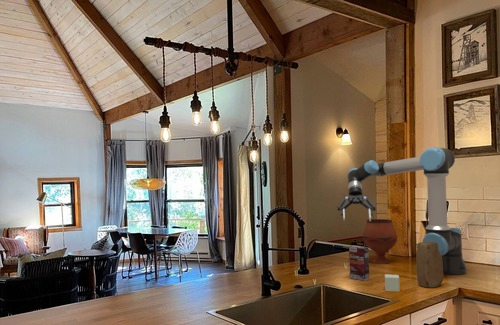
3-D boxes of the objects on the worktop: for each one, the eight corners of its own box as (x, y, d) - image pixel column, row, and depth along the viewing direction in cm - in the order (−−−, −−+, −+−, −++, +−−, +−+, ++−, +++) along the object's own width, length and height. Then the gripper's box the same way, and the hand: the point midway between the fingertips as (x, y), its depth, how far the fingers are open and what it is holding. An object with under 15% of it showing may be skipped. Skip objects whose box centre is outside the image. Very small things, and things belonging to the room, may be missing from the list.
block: (426, 288, 185) (424, 244, 186) (415, 284, 192) (413, 241, 193) (446, 286, 188) (444, 242, 189) (434, 282, 196) (432, 240, 196)
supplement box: (349, 278, 208) (348, 246, 208) (354, 276, 211) (353, 245, 212) (365, 281, 202) (364, 248, 203) (370, 279, 205) (368, 246, 206)
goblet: (359, 259, 253) (357, 219, 254) (389, 258, 255) (387, 217, 256) (371, 266, 234) (369, 222, 235) (403, 264, 236) (402, 221, 237)
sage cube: (399, 288, 188) (398, 274, 188) (399, 291, 182) (399, 277, 182) (385, 287, 190) (384, 274, 190) (385, 290, 184) (384, 277, 184)
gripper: (377, 194, 237) (381, 224, 222) (333, 195, 242) (333, 223, 227) (378, 185, 232) (381, 215, 217) (332, 186, 237) (333, 215, 222)
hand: (357, 219), depth 222 cm, fingers open, 13 cm apart
